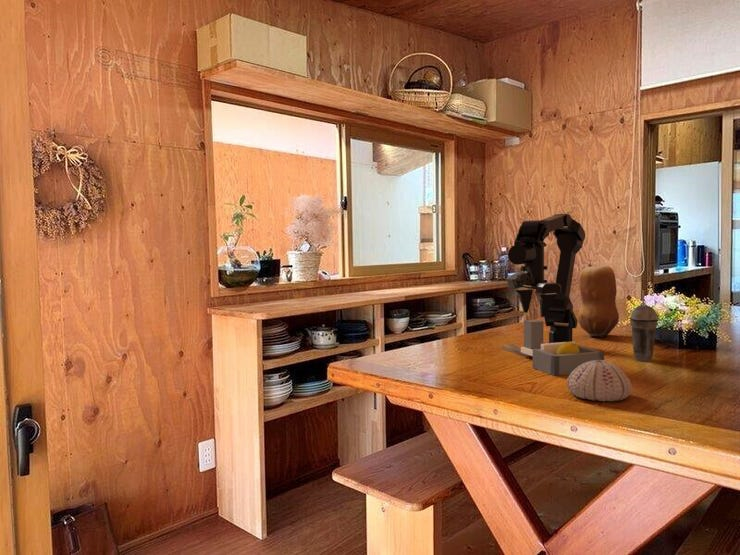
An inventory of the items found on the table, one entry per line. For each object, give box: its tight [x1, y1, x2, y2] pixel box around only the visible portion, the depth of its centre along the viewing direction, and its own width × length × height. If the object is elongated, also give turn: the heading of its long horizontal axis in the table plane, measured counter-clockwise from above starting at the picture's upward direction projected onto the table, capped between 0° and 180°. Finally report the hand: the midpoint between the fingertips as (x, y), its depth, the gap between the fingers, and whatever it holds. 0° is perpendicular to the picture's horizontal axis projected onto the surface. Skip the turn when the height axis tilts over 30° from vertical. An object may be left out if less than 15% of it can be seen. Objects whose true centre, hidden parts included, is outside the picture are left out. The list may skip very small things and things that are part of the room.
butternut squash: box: [577, 265, 620, 338], centre depth 200 cm, size 14×13×25 cm
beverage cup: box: [629, 289, 659, 362], centre depth 162 cm, size 7×7×20 cm
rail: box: [500, 343, 533, 359], centre depth 176 cm, size 4×16×1 cm, turn 16°
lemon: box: [556, 341, 579, 355], centre depth 152 cm, size 6×6×8 cm
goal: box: [532, 345, 605, 377], centre depth 153 cm, size 15×10×5 cm, turn 106°
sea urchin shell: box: [566, 359, 633, 402], centre depth 127 cm, size 13×14×8 cm
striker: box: [520, 319, 577, 356], centre depth 163 cm, size 10×15×10 cm, turn 16°
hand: (534, 314), depth 171 cm, fingers open, 9 cm apart
